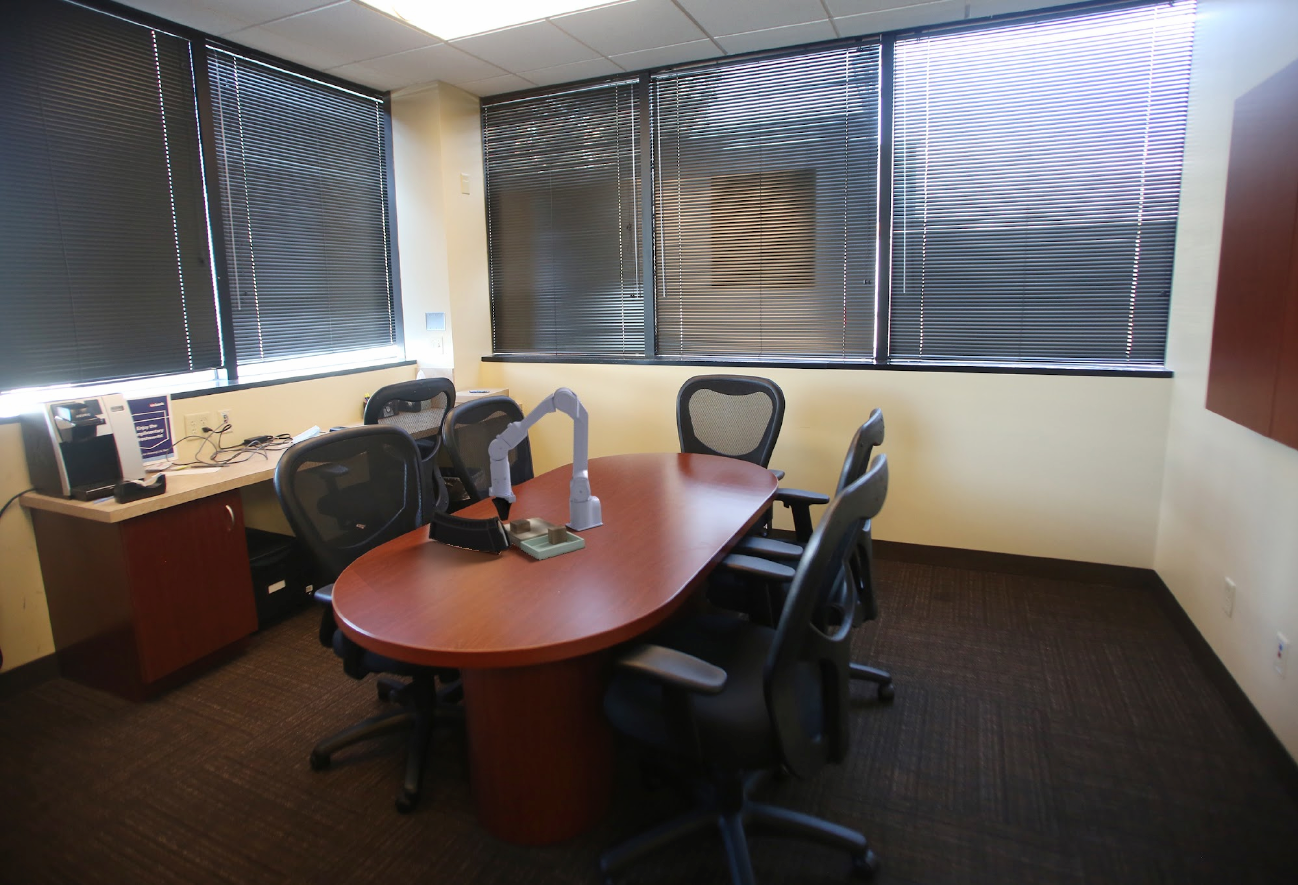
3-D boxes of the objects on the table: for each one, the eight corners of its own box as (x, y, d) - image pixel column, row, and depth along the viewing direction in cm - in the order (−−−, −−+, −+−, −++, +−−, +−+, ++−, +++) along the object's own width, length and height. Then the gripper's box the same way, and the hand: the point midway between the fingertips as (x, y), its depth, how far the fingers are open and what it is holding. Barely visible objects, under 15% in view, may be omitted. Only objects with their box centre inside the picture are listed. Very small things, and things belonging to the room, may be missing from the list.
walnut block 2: (561, 524, 211) (566, 527, 209) (561, 539, 212) (567, 541, 210) (547, 528, 209) (552, 530, 206) (548, 542, 210) (553, 545, 207)
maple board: (537, 526, 227) (537, 517, 226) (563, 538, 214) (562, 528, 214) (497, 535, 219) (496, 526, 218) (521, 549, 206) (520, 539, 206)
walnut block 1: (523, 527, 216) (522, 518, 216) (530, 531, 213) (530, 521, 212) (510, 530, 214) (509, 521, 213) (517, 534, 210) (516, 524, 209)
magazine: (420, 513, 215) (489, 495, 199) (428, 510, 217) (497, 492, 201) (436, 567, 215) (507, 554, 199) (444, 563, 218) (514, 550, 202)
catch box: (565, 538, 214) (565, 530, 214) (585, 547, 206) (584, 539, 205) (520, 550, 206) (520, 541, 205) (539, 560, 197) (538, 551, 196)
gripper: (478, 476, 222) (482, 517, 225) (499, 484, 211) (502, 528, 213) (499, 472, 226) (502, 512, 229) (520, 480, 215) (523, 523, 218)
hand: (504, 520), depth 221 cm, fingers closed
